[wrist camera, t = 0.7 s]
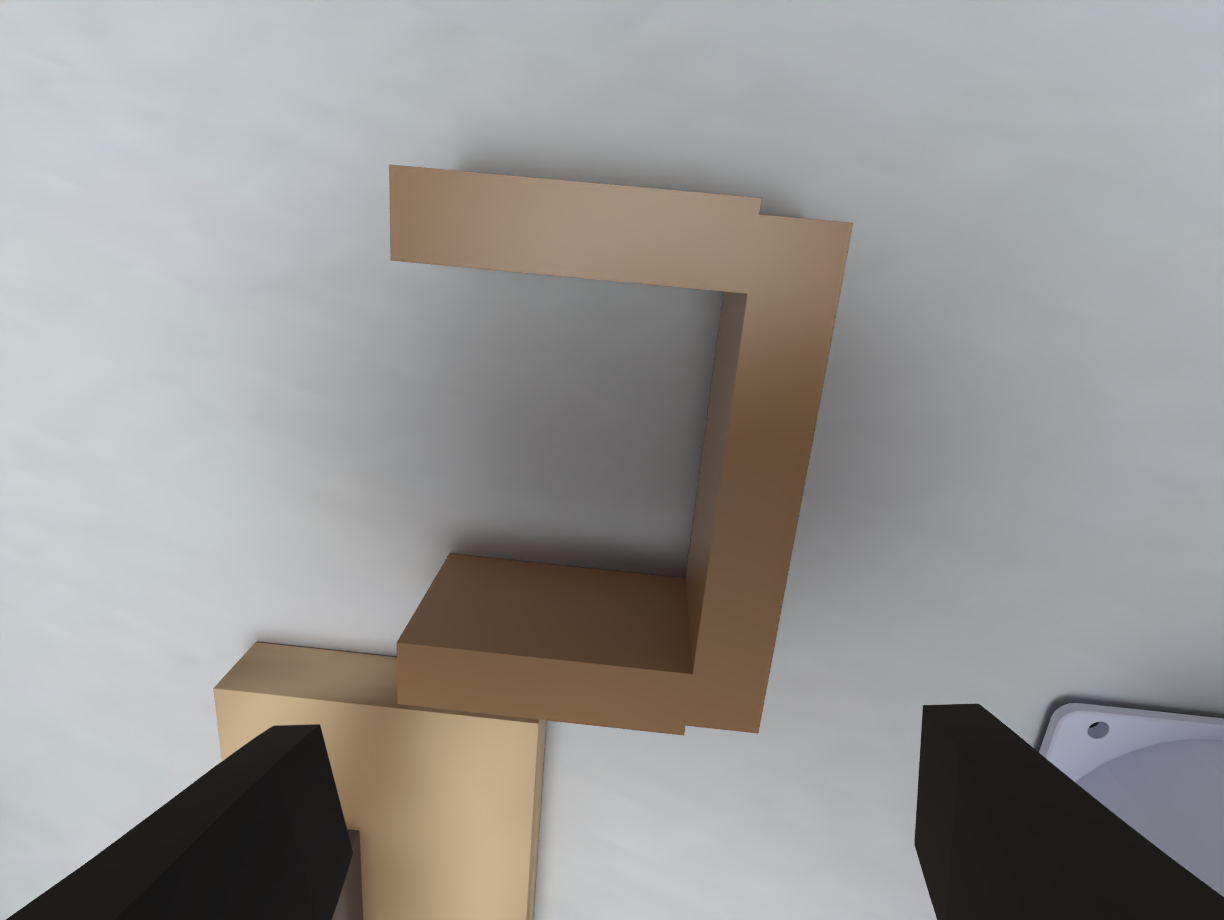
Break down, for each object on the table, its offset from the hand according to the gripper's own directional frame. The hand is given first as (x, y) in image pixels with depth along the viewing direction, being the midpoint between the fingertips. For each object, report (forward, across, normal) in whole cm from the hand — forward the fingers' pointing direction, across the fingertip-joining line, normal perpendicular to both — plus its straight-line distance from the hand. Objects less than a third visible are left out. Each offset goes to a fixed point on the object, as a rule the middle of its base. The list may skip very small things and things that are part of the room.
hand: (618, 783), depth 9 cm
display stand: (+9, +8, +10) cm, 16 cm away
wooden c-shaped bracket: (+9, +1, -2) cm, 10 cm away
